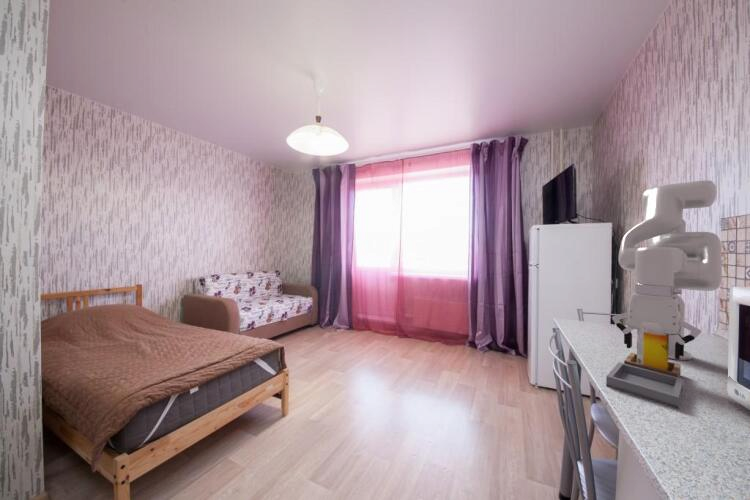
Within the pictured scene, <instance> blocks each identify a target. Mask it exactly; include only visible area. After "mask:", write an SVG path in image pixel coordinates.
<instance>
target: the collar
mask: <svg viewBox="0 0 750 500" xmlns="http://www.w3.org/2000/svg"><path fill="white" fill-rule="evenodd" d="M623 361H624V362H623V363H624V364H627V365H631V366H635V367H639V368H643V369H647V370H651V371H655V372H659V373H662V374H666V375H670V376H674V377H678V378H681V367H682V366H681V363H677V362H672V361H669V360H668V371H667V370H663V369H659V368H655V367H651V366H647V365H643V364H639V363H637V353H634V352H630V353H629V355H627V356H626V358H625V359H624V360H623Z"/></svg>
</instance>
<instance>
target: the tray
mask: <svg viewBox="0 0 750 500" xmlns="http://www.w3.org/2000/svg"><path fill="white" fill-rule="evenodd" d="M605 378H606V381H605V382H606V383H605V384H606V387H608V388H612V389H615V390H618V391H621V392H624V393H626V394H629V395H633V396H636V397H639V398H642V399H645V400H649V401H652V402H655V403H659V404H662V405H665V406H667V407H671V408H674V409H678V410H680V409H679V408H680V405H681V400H682V395H683V390H684V378H681V377H680V378H678V377H674V376H670V375H666V374H662V373H659V372H655V371H651V370H647V369H643V368H639V367H635V366H631V365H627V364H624V362H620V361H619V362H617V364H615V366H614V367H613V368H612V369H611V370H610V372H609V373H608V374H607V375H606V377H605Z"/></svg>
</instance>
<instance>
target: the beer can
mask: <svg viewBox="0 0 750 500" xmlns="http://www.w3.org/2000/svg"><path fill="white" fill-rule="evenodd" d="M636 330H637V333H636V334H637V338H636V341H637V342H636V346H637V347H636V354H637V363H639V364H643V365H647V366H651V367H655V368H659V369H663V370H667V371H668V361H669V358H668V350H669V335H667V334H664V333H663V330H662V327H661V326H660V325H659V324H658V323H657V322H653V321H646V322H644V323H642V324H641V329H639V330H638V329H636Z"/></svg>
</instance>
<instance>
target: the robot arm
mask: <svg viewBox="0 0 750 500" xmlns="http://www.w3.org/2000/svg"><path fill="white" fill-rule="evenodd" d="M716 197H717V187H716V185H715V183H714V182H713V181H712V180H710V179H709V180H708V179H707V180H696V181H695V180H694V181H693V180H692V181H688V182H679V183H671V184H664V185H659V186H656V187H655V186H654V187H651V188H648V189H647V190H645V191H644V192H643V193H642V196H641V203H642V208H643V211H644V215H643V221H642V222H641V221H640V222H639V223H638V224H636V225H635V226H633V227H632V228H631V229H630V230H628V231H627V232H626V234H625V235H624V236H623V237H622V239H621V241H620V246H619V247H620V248H619V251H618V264H619V266H620V268H622V269H624V270H625V271H631V272H633V271H634V293H631V294H630V298H629V303H628V311H627V312H624V313H621V314H616V315H613V316H612V317H611V319H612V321H613V322H614V324H615V326H616V327H617V328H618V329H619V330H620V331H621V332H622V333H623V335H624V336H623V344H625V345H626V349H630V348H632V347H633V333H632V331H633V330H637V329H638V330H639V329H641V324H642V323H644V322H646V321H653V322H657V323H658V324H659V325H660V326H661V327H662V330H663V333H664V334H667V335H669V350H668V359H672V360H678V361H681V360H682V361H687V360H689V361H690V360H691V359H692V354H691V353H689V352H688V351H686V350H685V345H686V344H687V343H690V342H692V341H694V340H695V339H696V338H697V337H698V336H700V334H701V333H702V330H701V329H700V328H698V327H696V326H694V325H692V324H690V323H688V322H686V321H685V319H686V318H685V317H686V316H685V313H686V311H685V310H686V305H685V301H684V299H683V298H682V297H681V296H680V295H682V290H688V291H701V292H704V291H705V292H712V291H716V290H718V289H719V288H720V286H721V284H722V275H723V273H722V265H723V264H722V242H721V240H720V237H719V236H718V235H717V234H716V233H713V232H710V231H686V228H687V223H686V221H685V219H683V217H684V216H683V214H684V212H683V211H684V210H687V209H688V210H689V209H699V208H701V209H702V208H709V207H711V206H712V205H713V204H714V203H715V200H716ZM647 240H649V242H648V246H636V245H638V244H640V243H641V242H644V241H647ZM626 318H627V321H626V322H627V323H626V324H627V325H628V326H627V327H626V325H624V324H623V323H622V321H621V320H623V319H626ZM685 329H686V330H688V331H689V333H688V335H685ZM635 347H636V348H637V345H636V346H635Z"/></svg>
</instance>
